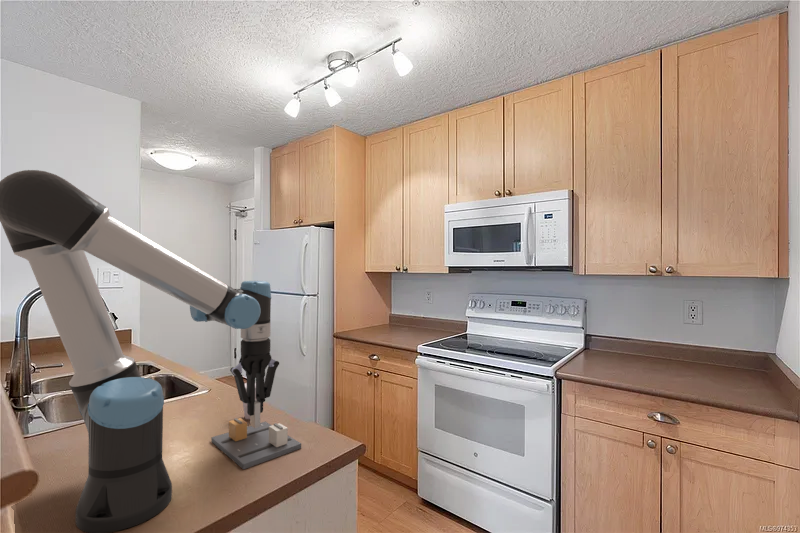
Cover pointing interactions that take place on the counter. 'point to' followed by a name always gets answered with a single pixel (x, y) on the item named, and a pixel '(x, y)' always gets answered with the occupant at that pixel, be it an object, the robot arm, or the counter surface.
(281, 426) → the cream fader
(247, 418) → the smoothie
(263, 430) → the fader board
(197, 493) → the counter surface
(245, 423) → the orange fader
